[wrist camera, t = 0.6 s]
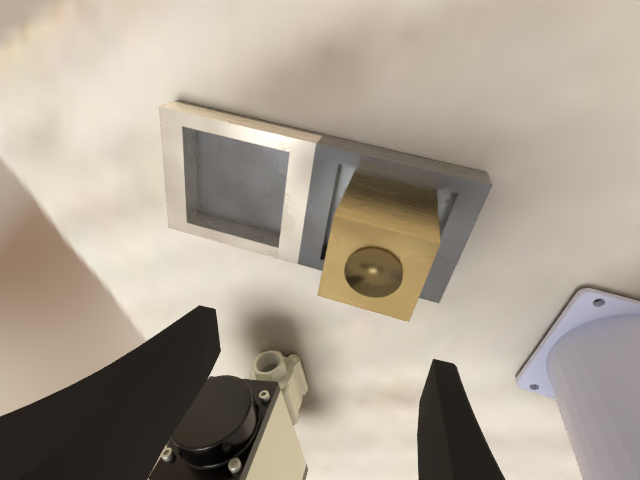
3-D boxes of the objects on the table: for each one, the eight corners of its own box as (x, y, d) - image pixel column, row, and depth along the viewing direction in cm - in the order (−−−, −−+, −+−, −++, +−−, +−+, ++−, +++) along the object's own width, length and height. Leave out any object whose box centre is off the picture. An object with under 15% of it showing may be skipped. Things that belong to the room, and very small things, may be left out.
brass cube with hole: (437, 191, 18) (440, 246, 14) (412, 259, 20) (408, 324, 16) (354, 171, 19) (332, 218, 14) (339, 240, 21) (316, 298, 17)
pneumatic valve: (296, 310, 25) (210, 505, 15) (326, 420, 30) (278, 617, 20) (224, 308, 27) (103, 484, 17) (265, 413, 32) (193, 592, 22)
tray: (486, 172, 17) (491, 185, 16) (438, 285, 21) (438, 303, 20) (177, 100, 19) (158, 106, 18) (183, 215, 23) (168, 227, 22)
